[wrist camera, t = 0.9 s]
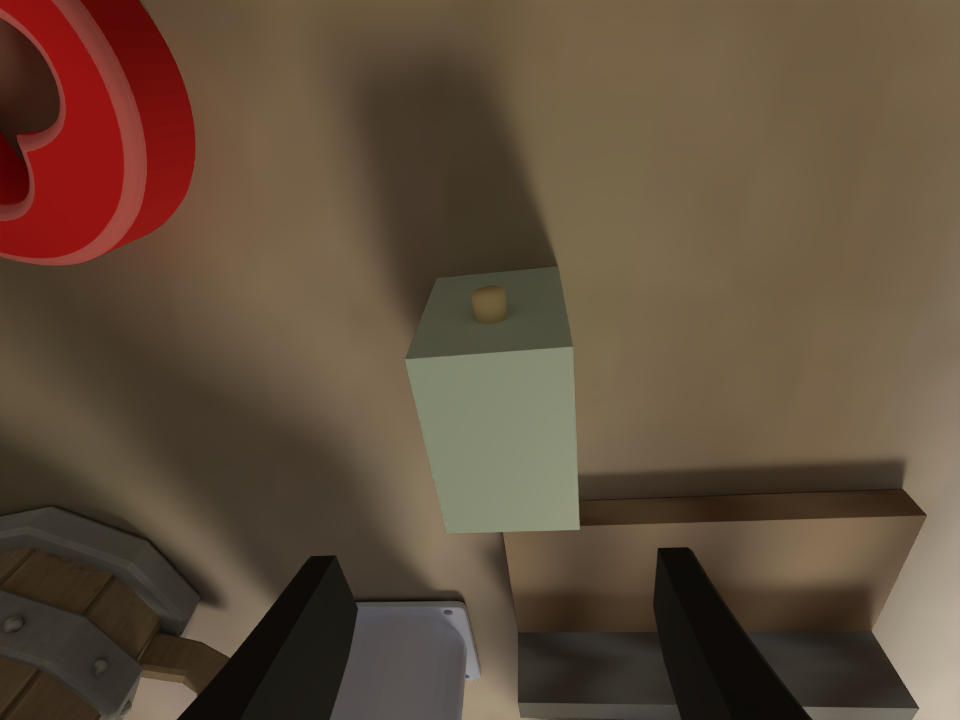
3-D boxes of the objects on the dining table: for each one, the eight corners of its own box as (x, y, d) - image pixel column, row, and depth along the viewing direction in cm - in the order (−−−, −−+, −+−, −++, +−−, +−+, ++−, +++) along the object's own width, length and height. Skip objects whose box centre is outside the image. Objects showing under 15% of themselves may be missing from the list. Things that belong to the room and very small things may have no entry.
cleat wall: (520, 622, 29) (520, 717, 25) (503, 503, 24) (499, 597, 20) (847, 619, 27) (908, 724, 23) (903, 489, 22) (995, 591, 18)
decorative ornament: (-150, -160, 13) (-322, -218, 11) (206, -12, 14) (133, -31, 12) (-70, 185, 18) (-174, 206, 15) (192, 275, 19) (138, 309, 17)
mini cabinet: (463, 424, 22) (446, 533, 17) (433, 256, 18) (398, 333, 13) (565, 418, 21) (579, 529, 16) (556, 244, 17) (571, 318, 12)
